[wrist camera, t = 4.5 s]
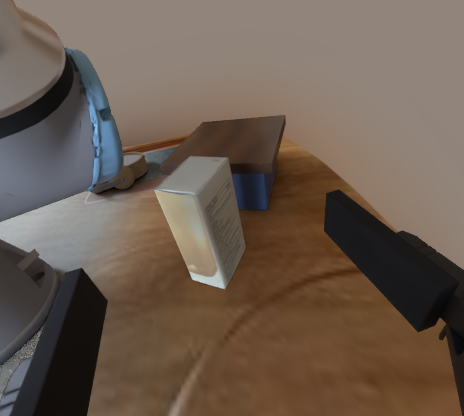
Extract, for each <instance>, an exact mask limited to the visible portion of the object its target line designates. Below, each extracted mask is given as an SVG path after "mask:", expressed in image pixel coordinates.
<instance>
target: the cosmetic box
mask: <svg viewBox="0 0 464 416" xmlns="http://www.w3.org/2000/svg"><path fill="white" fill-rule="evenodd" d="M154 192H155V194H156V196H157V198H158V201H159V203H160V205H161V208H162V210H163V212H164V215H165V217H166V219H167V222H168V224H169V226H170V229H171V231H172V233H173V236H174V238H175V240H176V243H177V245H178V247H179V250H180V252H181V254H182V256H183V259H184V261H185V263H186V266H187V268H188V270H189V273H190V275H191V277H192V279H193V280H196V281H199V282H202V283H205V284H208V285H211V286H215V287H218V288H222V289H225V288H226V287H227V286H228V284H229V282H230V280H231V278H232V276H233V274H234V272H235V270H236V268H237V266H238V264H239V262H240V260H241V257H242V255H243V253H244V251H245V248H246V246H245V241H244V236H243V231H242V226H241V221H240V216H239V211H238V206H237V201H236V195H235V190H234V185H233V180H232V175H231V170H230V165H229V159H228V158H226V157H202V156H190V157H189V158H188V159H187V160H185V161H184V162H183V163H182V164H181V165H180V166H179V167H178V168H176V169H175V170H174V171H173V172H172V173H171V174H170V175H169V176H168V177H167V178H166V179H165V180H164V181H163V182H162V183H160V184H159V185H158V186H157V187H156V188H155V189H154Z"/></svg>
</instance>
